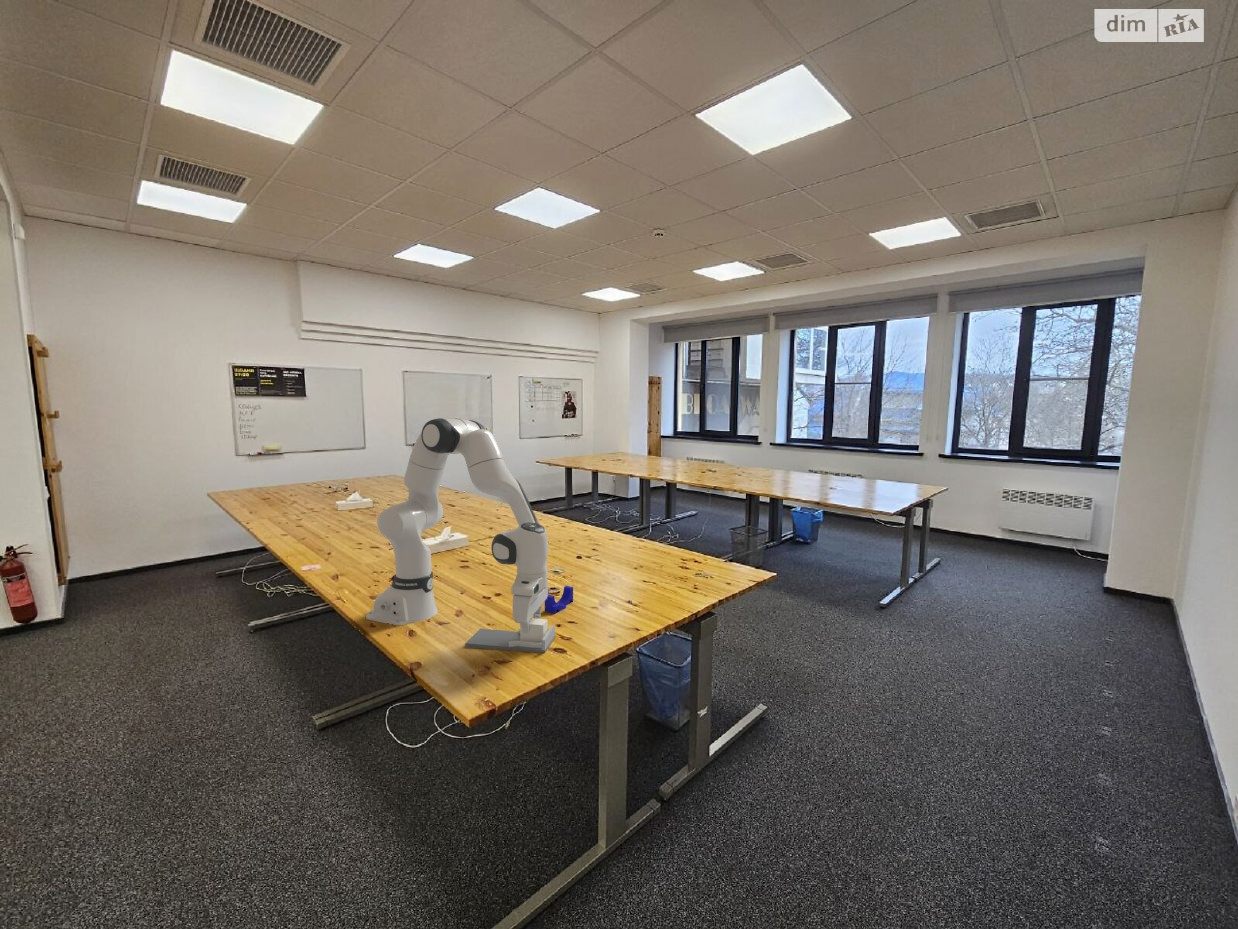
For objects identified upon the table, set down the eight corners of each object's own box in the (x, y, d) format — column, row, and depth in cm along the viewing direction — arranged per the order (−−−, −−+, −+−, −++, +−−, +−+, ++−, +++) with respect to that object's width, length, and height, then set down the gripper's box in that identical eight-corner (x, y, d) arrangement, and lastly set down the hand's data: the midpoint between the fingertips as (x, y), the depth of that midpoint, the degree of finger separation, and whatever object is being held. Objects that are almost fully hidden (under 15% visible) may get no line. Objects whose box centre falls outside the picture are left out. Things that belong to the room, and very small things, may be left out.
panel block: (520, 643, 146) (520, 623, 145) (525, 637, 150) (524, 617, 149) (543, 645, 144) (543, 625, 144) (547, 639, 148) (547, 619, 148)
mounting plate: (465, 647, 145) (465, 633, 145) (480, 632, 155) (480, 619, 155) (545, 654, 141) (544, 640, 141) (555, 638, 151) (555, 625, 151)
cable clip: (554, 615, 169) (554, 598, 168) (544, 612, 171) (544, 595, 171) (576, 604, 179) (576, 588, 178) (566, 601, 181) (566, 585, 181)
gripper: (533, 567, 156) (533, 610, 157) (508, 590, 136) (508, 639, 137) (553, 569, 155) (552, 612, 156) (530, 592, 135) (530, 641, 136)
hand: (531, 625), depth 147 cm, fingers open, 8 cm apart
